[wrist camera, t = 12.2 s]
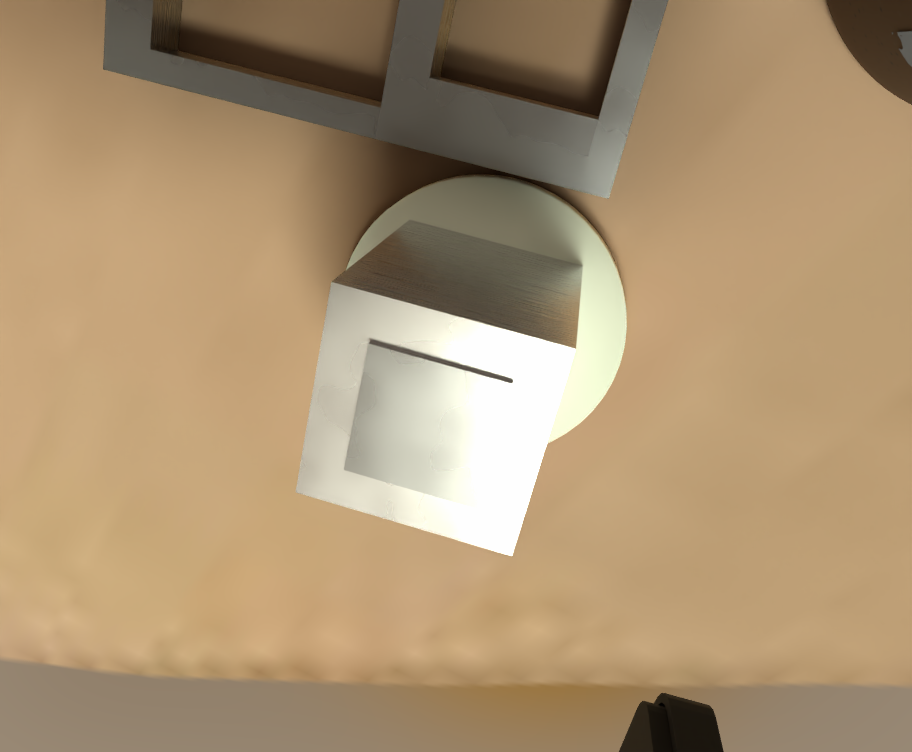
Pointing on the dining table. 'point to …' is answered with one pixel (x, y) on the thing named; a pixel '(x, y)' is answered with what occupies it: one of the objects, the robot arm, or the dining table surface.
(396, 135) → the metal rectangular frame
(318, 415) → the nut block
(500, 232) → the cream dome cap
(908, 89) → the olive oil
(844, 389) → the dining table surface
